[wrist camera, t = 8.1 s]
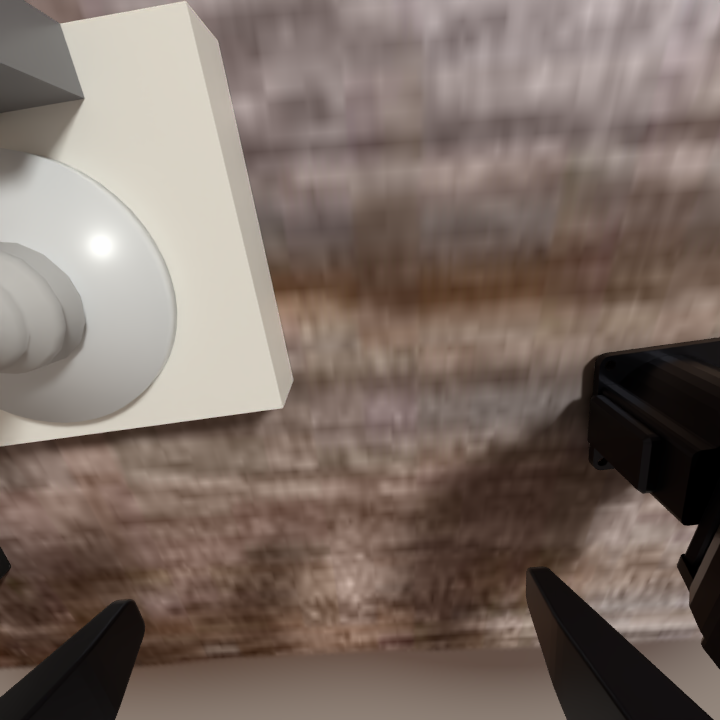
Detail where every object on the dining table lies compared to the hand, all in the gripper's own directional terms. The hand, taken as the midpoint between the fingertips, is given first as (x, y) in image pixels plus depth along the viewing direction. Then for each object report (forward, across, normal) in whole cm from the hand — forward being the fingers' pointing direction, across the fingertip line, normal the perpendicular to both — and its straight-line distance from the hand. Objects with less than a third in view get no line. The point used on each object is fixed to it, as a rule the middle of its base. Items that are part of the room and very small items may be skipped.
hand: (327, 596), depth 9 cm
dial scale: (+11, +11, -8) cm, 17 cm away
